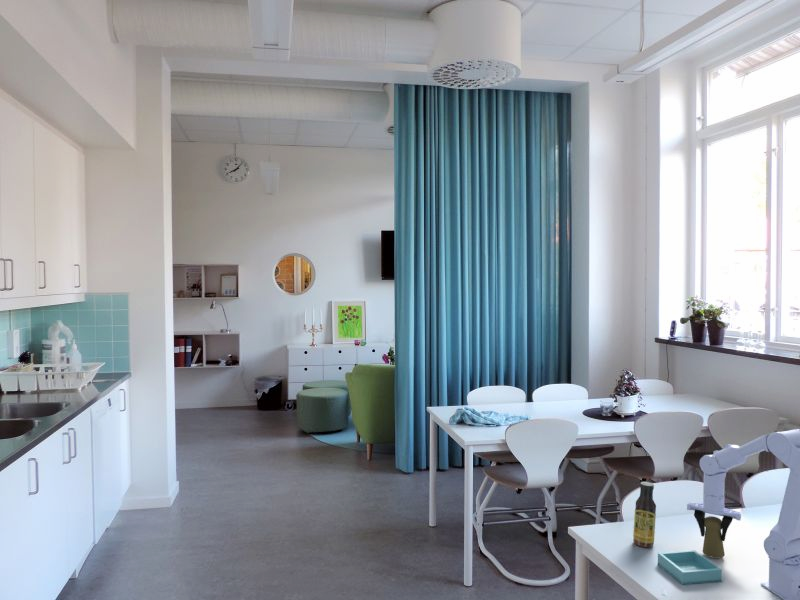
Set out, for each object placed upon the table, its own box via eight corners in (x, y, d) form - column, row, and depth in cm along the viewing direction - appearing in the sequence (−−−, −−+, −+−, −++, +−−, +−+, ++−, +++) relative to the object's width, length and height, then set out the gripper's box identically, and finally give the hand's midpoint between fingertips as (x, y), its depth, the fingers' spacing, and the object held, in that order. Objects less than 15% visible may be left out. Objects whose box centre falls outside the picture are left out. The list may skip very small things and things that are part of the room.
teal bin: (721, 581, 167) (722, 569, 167) (682, 584, 165) (683, 572, 165) (694, 561, 179) (694, 550, 179) (657, 564, 177) (657, 552, 177)
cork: (727, 558, 179) (727, 522, 178) (706, 557, 180) (706, 521, 179) (720, 548, 185) (720, 514, 184) (699, 548, 186) (699, 513, 185)
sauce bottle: (632, 546, 189) (633, 484, 189) (634, 538, 195) (635, 478, 194) (654, 550, 186) (655, 488, 186) (656, 542, 192) (657, 482, 191)
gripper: (742, 494, 181) (741, 539, 181) (690, 485, 189) (689, 527, 189) (739, 501, 175) (738, 547, 175) (685, 491, 183) (685, 535, 184)
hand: (713, 537), depth 182 cm, fingers closed on cork, 5 cm apart
